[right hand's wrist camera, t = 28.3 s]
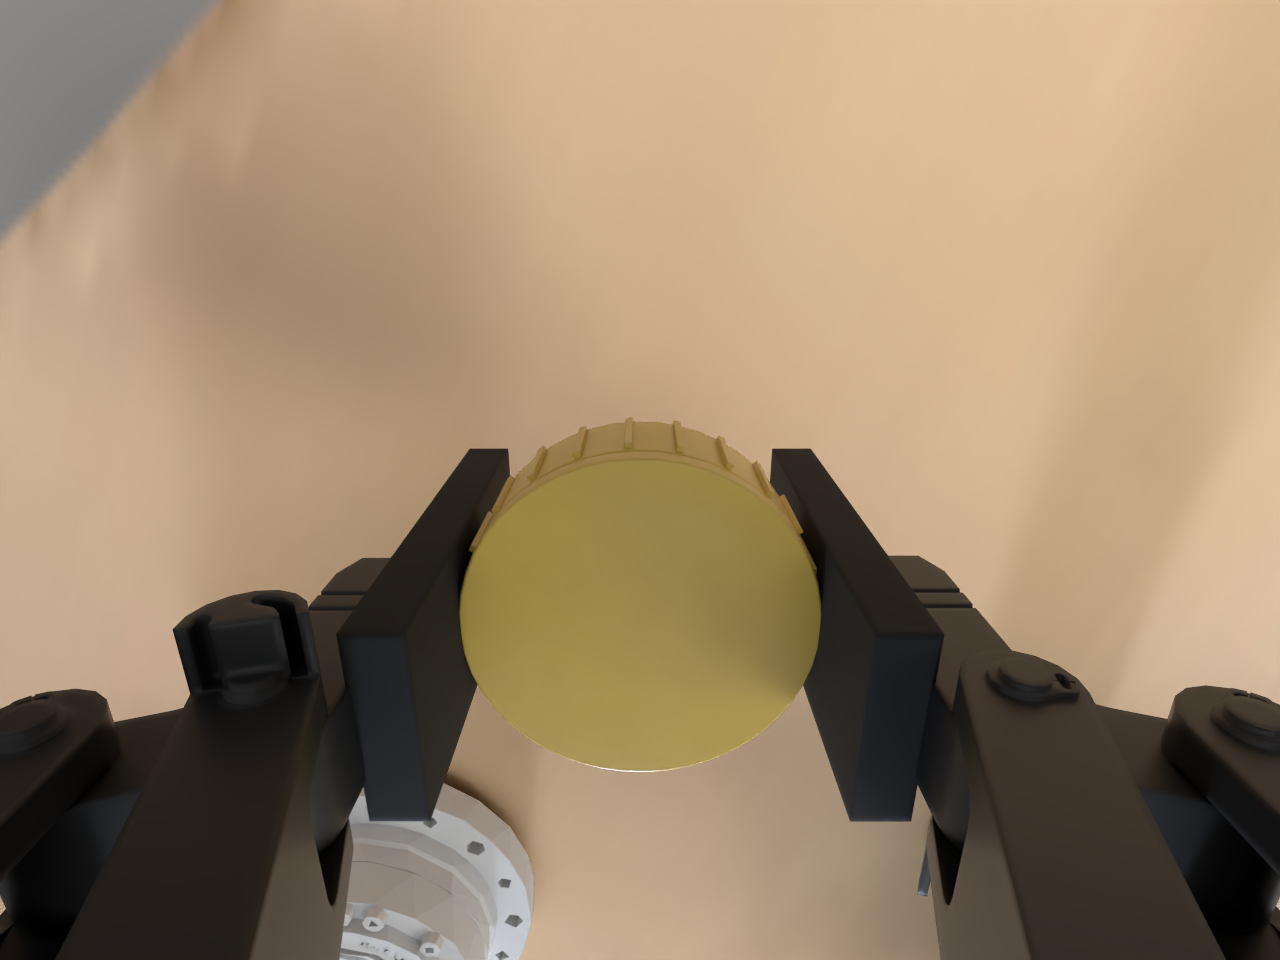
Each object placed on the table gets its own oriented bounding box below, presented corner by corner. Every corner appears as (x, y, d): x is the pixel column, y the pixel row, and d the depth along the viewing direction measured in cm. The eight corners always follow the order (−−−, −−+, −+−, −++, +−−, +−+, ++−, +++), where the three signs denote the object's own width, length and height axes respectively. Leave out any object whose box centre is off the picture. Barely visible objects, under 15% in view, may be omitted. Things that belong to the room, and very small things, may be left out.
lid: (673, 749, 13) (678, 828, 11) (420, 602, 12) (384, 666, 10) (867, 537, 12) (906, 593, 10) (597, 347, 11) (589, 374, 9)
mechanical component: (531, 981, 26) (543, 772, 23) (512, 1122, 22) (523, 895, 19) (261, 966, 26) (232, 752, 23) (191, 1108, 22) (141, 872, 18)
